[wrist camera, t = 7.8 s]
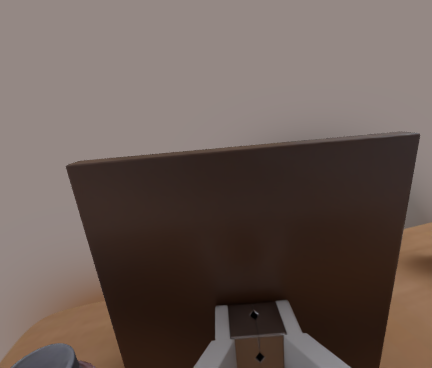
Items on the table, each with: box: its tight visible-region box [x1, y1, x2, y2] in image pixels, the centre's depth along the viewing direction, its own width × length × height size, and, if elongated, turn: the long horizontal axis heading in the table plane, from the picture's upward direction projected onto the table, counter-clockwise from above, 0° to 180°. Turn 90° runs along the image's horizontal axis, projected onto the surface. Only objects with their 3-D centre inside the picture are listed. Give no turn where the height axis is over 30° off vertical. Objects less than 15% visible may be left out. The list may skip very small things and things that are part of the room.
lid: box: [66, 132, 420, 368], centre depth 10 cm, size 15×12×1 cm
